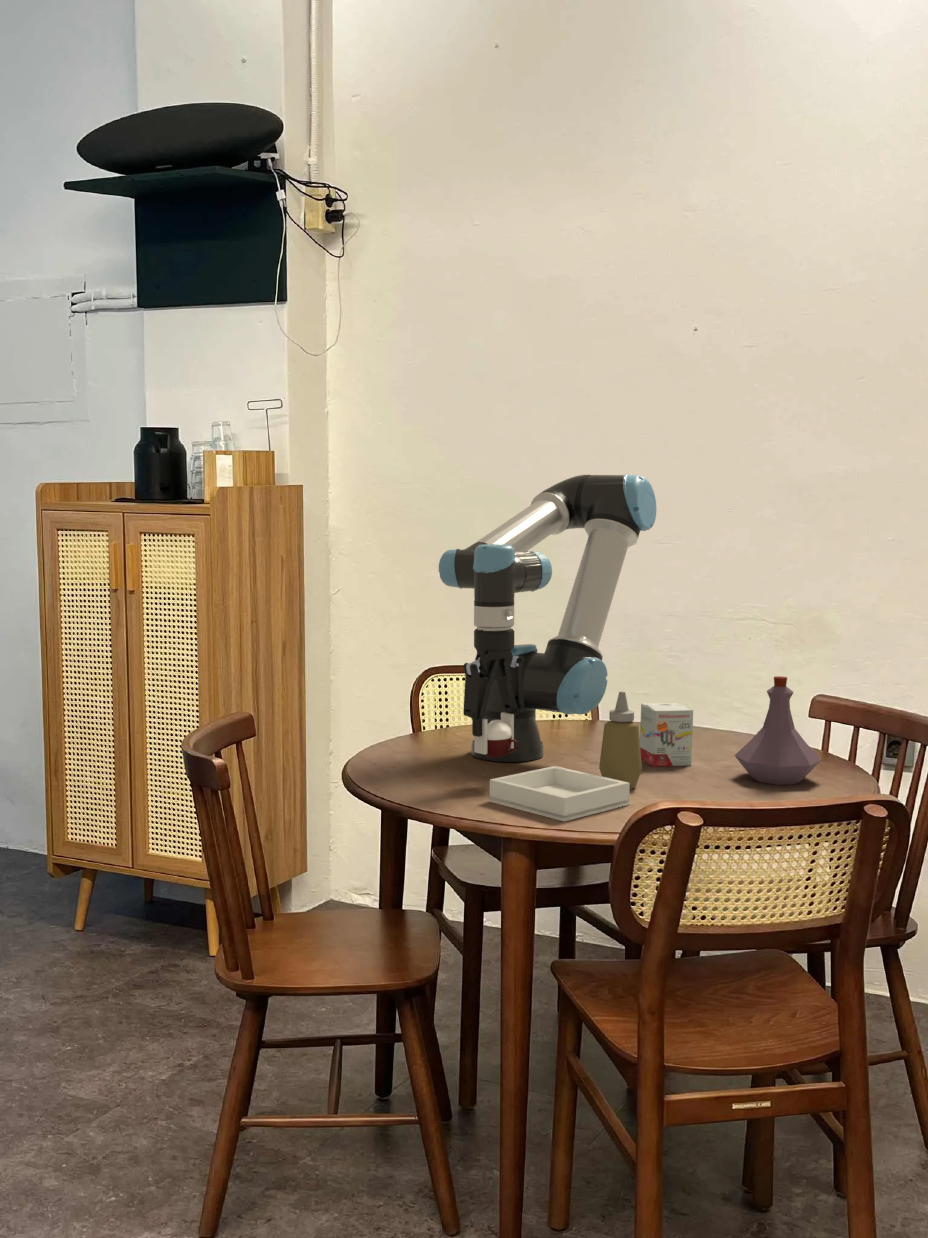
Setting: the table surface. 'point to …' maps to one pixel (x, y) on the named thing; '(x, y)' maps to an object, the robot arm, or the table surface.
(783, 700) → the flask
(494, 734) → the cocoa
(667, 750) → the ink box
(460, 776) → the table surface
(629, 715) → the squeeze bottle
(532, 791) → the tray
